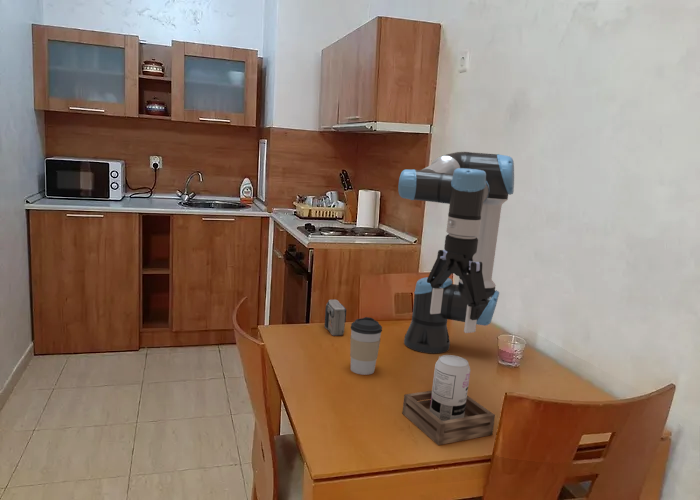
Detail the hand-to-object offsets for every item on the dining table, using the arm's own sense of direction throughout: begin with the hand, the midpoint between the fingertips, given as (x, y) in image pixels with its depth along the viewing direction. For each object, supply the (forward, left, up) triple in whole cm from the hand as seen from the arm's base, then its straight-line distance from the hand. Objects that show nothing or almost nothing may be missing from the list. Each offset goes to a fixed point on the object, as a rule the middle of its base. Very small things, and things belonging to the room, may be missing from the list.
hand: (451, 322), depth 135 cm
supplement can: (+1, +4, -23) cm, 24 cm away
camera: (0, -63, -24) cm, 68 cm away
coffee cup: (+6, -30, -24) cm, 39 cm away
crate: (+1, +4, -24) cm, 24 cm away
